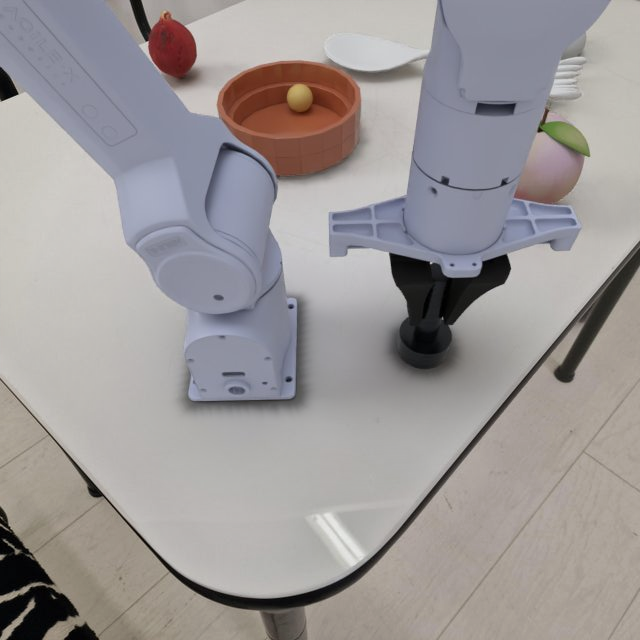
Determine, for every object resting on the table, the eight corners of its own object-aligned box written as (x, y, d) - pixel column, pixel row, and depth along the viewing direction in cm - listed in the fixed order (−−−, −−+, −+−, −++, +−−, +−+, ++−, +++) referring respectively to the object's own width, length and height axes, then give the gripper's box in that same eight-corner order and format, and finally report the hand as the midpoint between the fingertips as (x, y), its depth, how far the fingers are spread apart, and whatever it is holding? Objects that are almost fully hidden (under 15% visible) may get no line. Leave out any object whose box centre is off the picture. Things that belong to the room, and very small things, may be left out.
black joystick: (451, 368, 40) (476, 294, 32) (399, 369, 40) (413, 295, 33) (443, 326, 42) (465, 248, 35) (394, 328, 42) (406, 250, 35)
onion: (193, 91, 65) (177, 24, 59) (150, 87, 66) (130, 21, 59) (208, 68, 68) (194, 2, 62) (167, 65, 69) (150, 0, 63)
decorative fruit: (575, 193, 51) (619, 99, 43) (548, 243, 47) (591, 149, 39) (486, 163, 55) (512, 71, 47) (454, 207, 51) (476, 114, 43)
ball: (307, 110, 58) (320, 89, 59) (285, 94, 57) (298, 73, 58) (301, 121, 61) (313, 101, 62) (279, 106, 60) (292, 86, 61)
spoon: (571, 120, 59) (583, 91, 56) (313, 74, 67) (312, 47, 64) (578, 81, 64) (589, 53, 61) (337, 42, 72) (337, 16, 69)
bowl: (363, 178, 54) (365, 135, 50) (218, 182, 54) (209, 140, 50) (355, 99, 63) (356, 58, 59) (231, 103, 63) (224, 62, 59)
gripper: (329, 211, 24) (331, 363, 35) (638, 202, 24) (544, 358, 35) (326, 125, 29) (329, 285, 39) (589, 117, 28) (519, 280, 39)
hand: (429, 314), depth 37 cm, fingers closed on black joystick, 2 cm apart
